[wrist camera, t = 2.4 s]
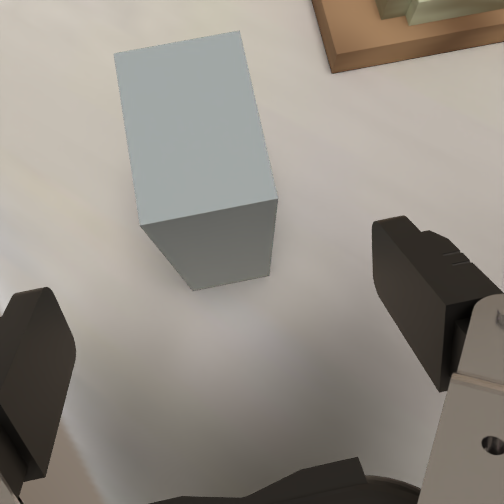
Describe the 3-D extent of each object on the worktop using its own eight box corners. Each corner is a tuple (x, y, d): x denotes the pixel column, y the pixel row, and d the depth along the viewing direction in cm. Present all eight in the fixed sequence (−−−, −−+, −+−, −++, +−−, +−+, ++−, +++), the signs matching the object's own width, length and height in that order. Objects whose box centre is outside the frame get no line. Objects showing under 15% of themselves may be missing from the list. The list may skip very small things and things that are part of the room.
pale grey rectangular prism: (247, 174, 23) (239, 30, 13) (269, 275, 22) (277, 198, 12) (175, 188, 23) (113, 53, 13) (193, 291, 22) (139, 225, 12)
